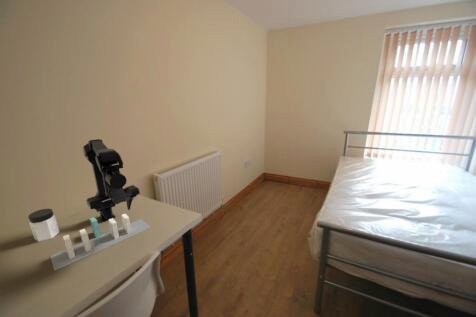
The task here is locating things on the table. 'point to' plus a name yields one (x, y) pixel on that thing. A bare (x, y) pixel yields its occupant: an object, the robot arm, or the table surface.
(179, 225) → the table surface
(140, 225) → the runner mat
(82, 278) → the table surface
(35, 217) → the jar
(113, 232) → the domino
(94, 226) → the domino
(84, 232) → the domino
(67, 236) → the domino
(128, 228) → the domino
